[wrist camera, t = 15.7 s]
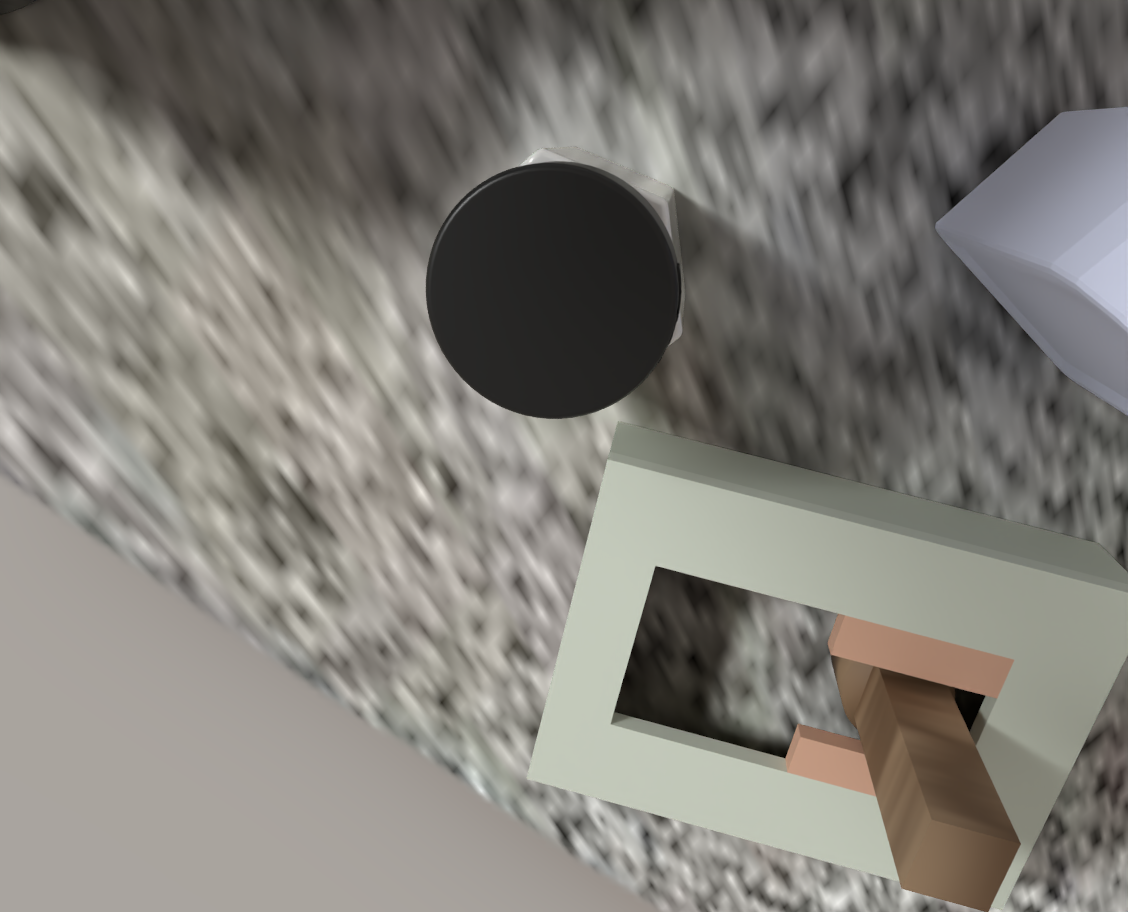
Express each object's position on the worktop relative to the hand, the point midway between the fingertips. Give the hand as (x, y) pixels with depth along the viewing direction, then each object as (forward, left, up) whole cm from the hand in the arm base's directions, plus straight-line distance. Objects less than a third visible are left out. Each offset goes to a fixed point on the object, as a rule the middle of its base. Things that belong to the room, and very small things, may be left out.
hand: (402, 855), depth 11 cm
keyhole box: (+12, -12, -33) cm, 37 cm away
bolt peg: (+16, -12, -33) cm, 38 cm away
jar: (-2, +3, -33) cm, 33 cm away
